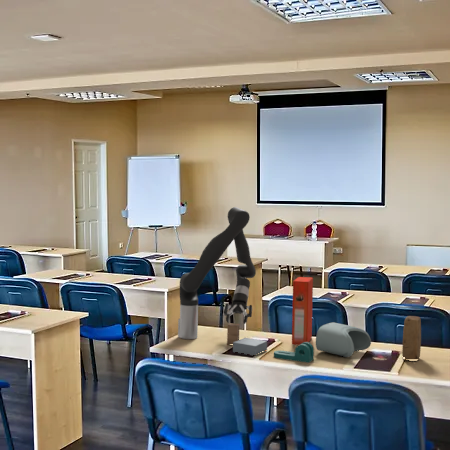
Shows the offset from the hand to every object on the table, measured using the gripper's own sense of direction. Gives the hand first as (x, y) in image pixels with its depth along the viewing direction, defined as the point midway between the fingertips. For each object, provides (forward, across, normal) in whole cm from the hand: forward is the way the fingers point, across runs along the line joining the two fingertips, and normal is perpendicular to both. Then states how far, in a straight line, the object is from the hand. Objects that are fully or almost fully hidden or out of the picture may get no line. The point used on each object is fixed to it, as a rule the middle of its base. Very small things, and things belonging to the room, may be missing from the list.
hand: (235, 322), depth 327 cm
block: (+13, +85, +2) cm, 86 cm away
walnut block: (+11, 0, +3) cm, 11 cm away
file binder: (-2, +32, +16) cm, 36 cm away
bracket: (+24, +32, -9) cm, 41 cm away
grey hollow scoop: (+12, +54, +3) cm, 55 cm away
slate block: (+19, +11, -5) cm, 22 cm away
